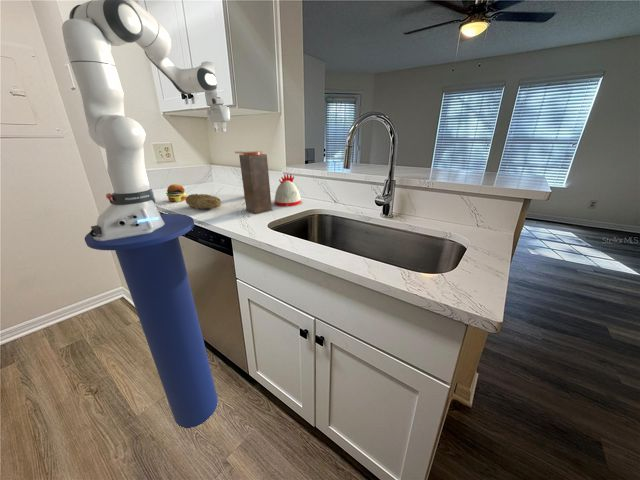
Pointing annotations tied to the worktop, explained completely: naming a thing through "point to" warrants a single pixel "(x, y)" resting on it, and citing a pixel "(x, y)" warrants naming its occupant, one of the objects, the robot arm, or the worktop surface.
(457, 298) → the worktop surface
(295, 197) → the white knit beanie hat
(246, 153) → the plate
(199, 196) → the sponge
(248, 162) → the tall brown brick
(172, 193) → the cheeseburger
